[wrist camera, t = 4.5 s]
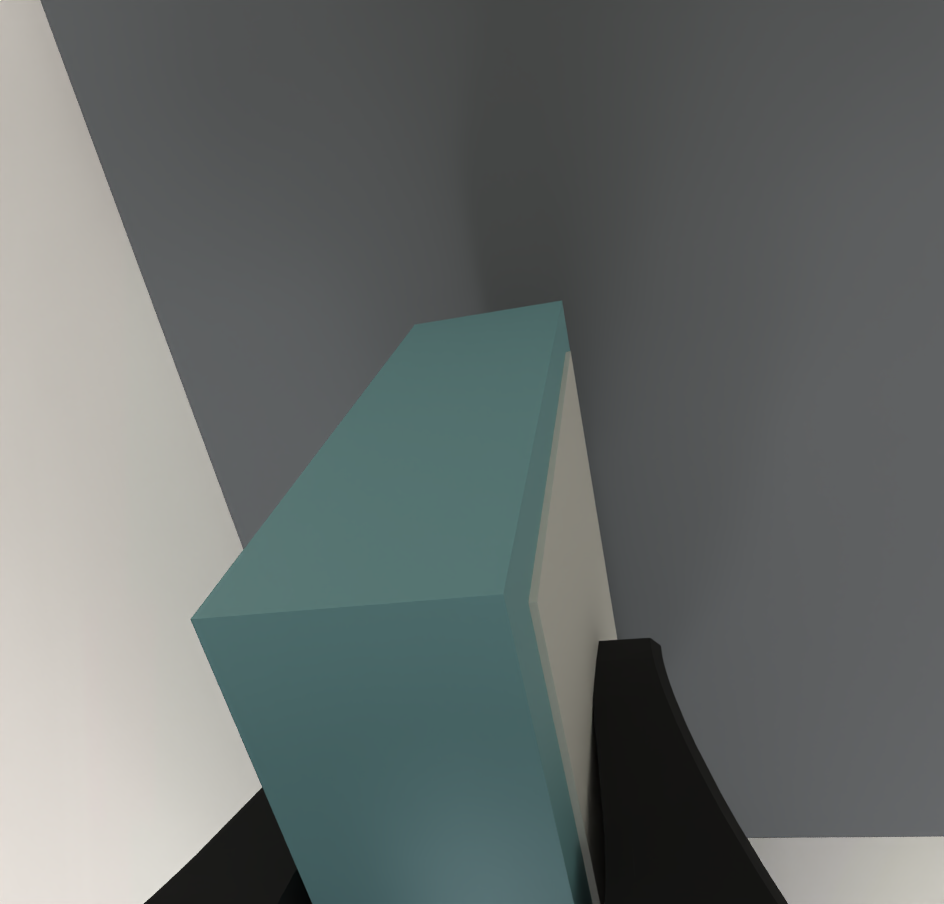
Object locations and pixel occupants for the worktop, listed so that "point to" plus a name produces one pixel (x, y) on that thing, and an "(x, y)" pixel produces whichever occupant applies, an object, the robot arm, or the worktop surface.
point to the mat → (596, 310)
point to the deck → (432, 631)
